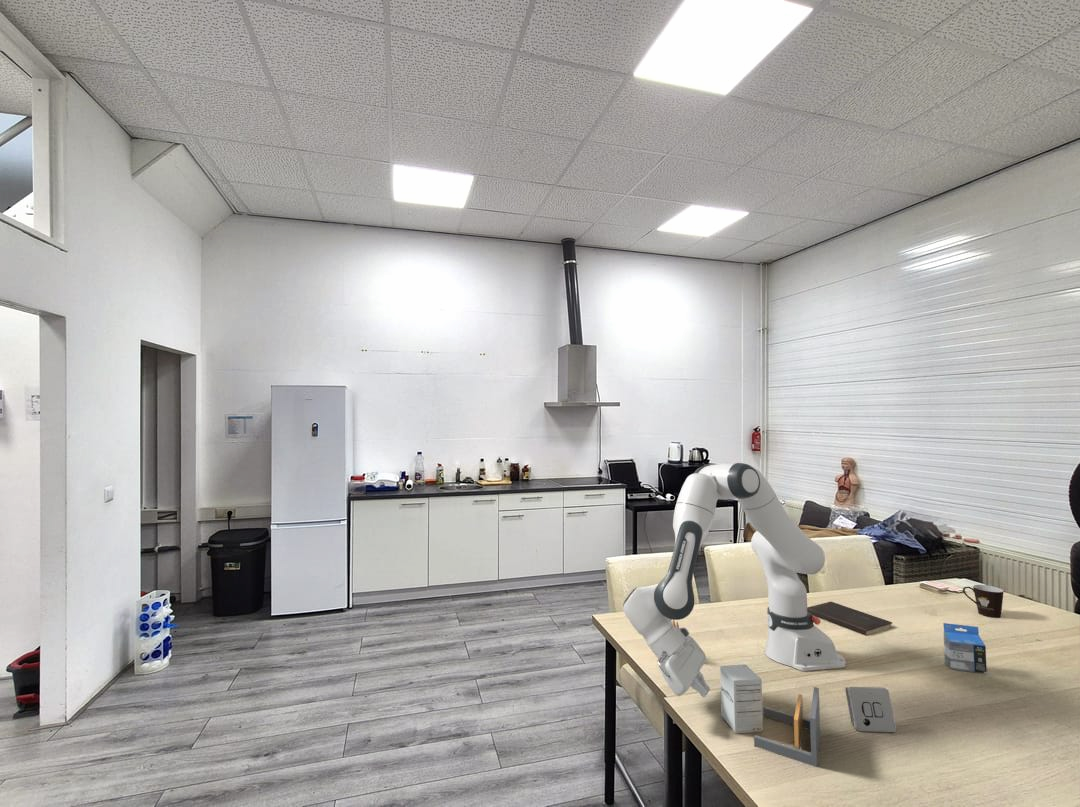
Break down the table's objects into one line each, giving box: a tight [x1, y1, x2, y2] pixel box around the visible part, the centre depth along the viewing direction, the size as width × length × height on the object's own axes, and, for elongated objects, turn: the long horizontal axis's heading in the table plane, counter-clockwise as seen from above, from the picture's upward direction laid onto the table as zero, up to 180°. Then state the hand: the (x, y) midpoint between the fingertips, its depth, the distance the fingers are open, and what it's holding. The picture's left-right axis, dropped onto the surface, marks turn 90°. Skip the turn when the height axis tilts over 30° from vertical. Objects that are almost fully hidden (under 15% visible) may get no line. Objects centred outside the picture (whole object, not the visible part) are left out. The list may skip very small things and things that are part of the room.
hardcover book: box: [807, 601, 893, 637], centre depth 180 cm, size 16×23×2 cm
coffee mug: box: [962, 584, 1004, 619], centre depth 185 cm, size 12×9×10 cm
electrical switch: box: [844, 686, 897, 733], centre depth 117 cm, size 9×5×9 cm, turn 86°
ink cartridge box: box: [943, 622, 988, 675], centre depth 143 cm, size 9×4×12 cm, turn 70°
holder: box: [753, 686, 821, 768], centre depth 112 cm, size 12×14×10 cm
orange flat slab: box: [793, 693, 804, 749], centre depth 111 cm, size 1×12×7 cm, turn 147°
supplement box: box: [719, 664, 764, 734], centre depth 118 cm, size 7×7×13 cm
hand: (706, 693), depth 122 cm, fingers closed
